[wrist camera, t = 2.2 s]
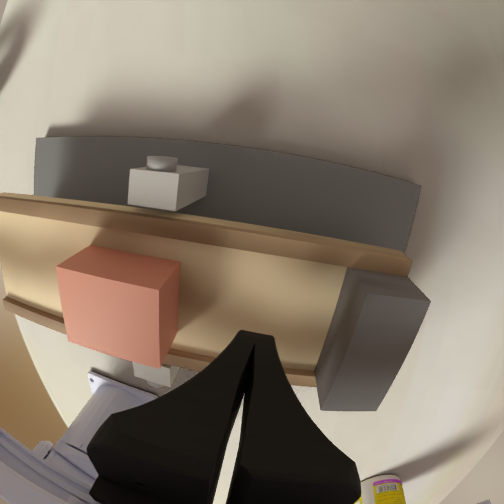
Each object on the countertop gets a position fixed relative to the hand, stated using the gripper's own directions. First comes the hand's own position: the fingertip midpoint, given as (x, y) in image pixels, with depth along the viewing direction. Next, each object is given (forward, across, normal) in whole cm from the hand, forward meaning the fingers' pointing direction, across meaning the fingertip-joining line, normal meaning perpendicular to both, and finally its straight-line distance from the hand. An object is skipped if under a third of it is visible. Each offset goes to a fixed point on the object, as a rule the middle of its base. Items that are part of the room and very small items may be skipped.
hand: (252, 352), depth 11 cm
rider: (+3, +6, 0) cm, 7 cm away
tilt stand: (+8, +6, 0) cm, 10 cm away
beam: (+3, +6, 0) cm, 6 cm away
